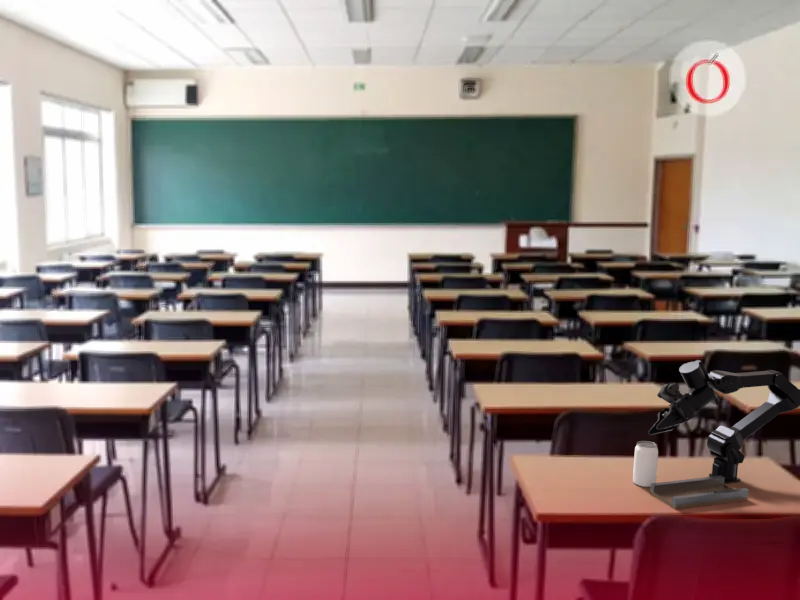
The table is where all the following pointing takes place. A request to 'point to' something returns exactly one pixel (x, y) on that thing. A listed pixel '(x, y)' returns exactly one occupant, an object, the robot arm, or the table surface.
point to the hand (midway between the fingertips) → (653, 431)
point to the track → (697, 492)
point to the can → (645, 463)
